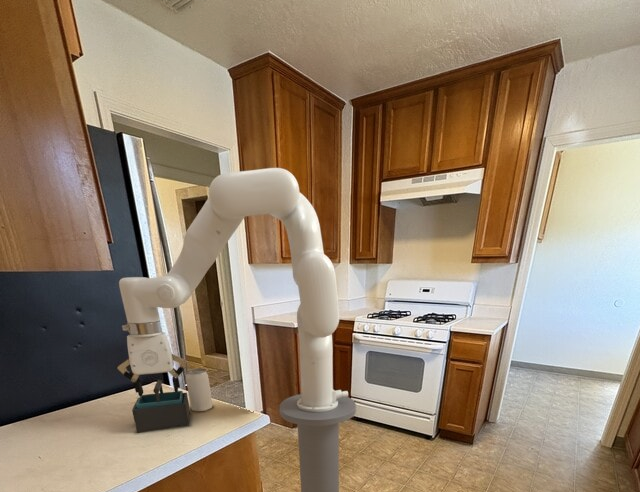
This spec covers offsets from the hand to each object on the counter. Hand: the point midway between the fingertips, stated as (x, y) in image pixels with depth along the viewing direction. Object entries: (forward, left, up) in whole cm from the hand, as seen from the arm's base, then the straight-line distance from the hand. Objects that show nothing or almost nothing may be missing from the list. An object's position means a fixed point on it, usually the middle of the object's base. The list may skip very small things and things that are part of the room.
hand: (159, 392), depth 97 cm
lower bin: (0, 0, -9) cm, 9 cm away
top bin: (0, 0, -8) cm, 8 cm away
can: (-10, -8, -9) cm, 16 cm away
